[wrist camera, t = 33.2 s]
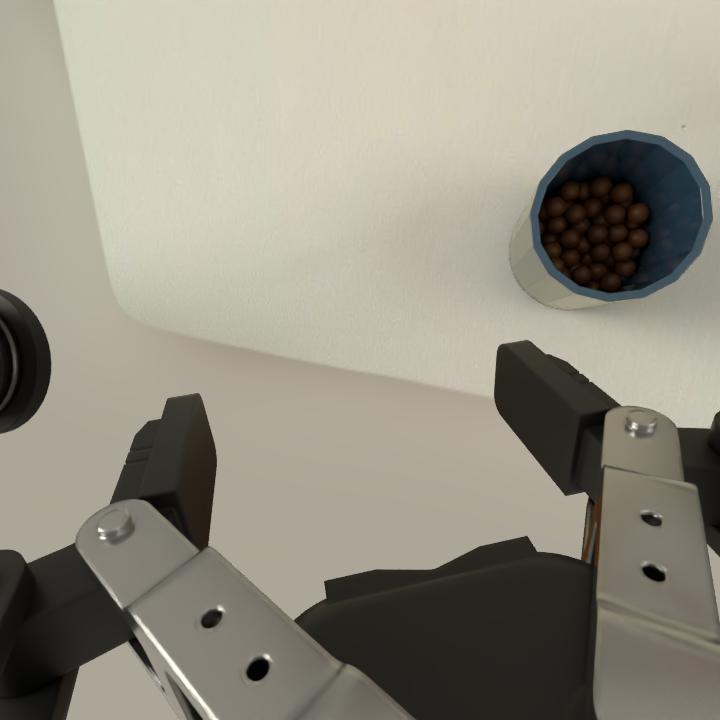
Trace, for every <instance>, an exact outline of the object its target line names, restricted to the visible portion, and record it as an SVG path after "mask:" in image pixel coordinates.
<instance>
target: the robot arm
mask: <svg viewBox="0 0 720 720" xmlns="http://www.w3.org/2000/svg"><path fill="white" fill-rule="evenodd" d="M22 372H23V360H22V353H21V348H20V344H19V341H18V339H17V336H16V334H15V332H14V330H13V329H12V327H11V326H10V324H9V323H8V322H7V320H6V319H5V318H4V317H3V316H2V315H1V314H0V414H1V413H2V412H4V411H5V410H6V409H7V408H8V407H9V406H10V404H11V403H12V401H13V400H14V398H15V396H16V394H17V392H18V390H19V387H20V383H21V379H22ZM494 398H495V404H496V407H497V410H498V411H499V413H500V415H501V416H502V417H503V419H504V420H505V421H506V423H507V424H508V425H509V426H510V428H511V429H512V430H513V431H514V432H515V434H516V435H517V436H518V437H519V439H520V440H521V441H522V442H523V444H524V445H525V446H526V447H527V449H528V450H529V451H530V452H531V454H532V455H533V456H534V457H535V459H536V460H537V461H538V462H539V464H540V465H541V466H542V467H543V468H544V470H545V471H546V472H547V473H548V475H549V476H550V477H551V478H552V480H553V481H554V482H555V483H556V485H557V486H558V487H559V488H560V490H561V491H562V492H563V493H564V495H565V496H567V495H573V494H577V493H582V492H586V494H587V495H588V496H589V498H588V503H587V508H586V518H585V528H584V537H583V548H582V557H581V560H579V559H575V558H572V557H569V556H565V555H560V554H555V553H546V552H537V551H536V549H535V547H534V546H533V544H532V543H531V541H530V540H529V538H528V537H527V536H525V537H520V538H516V539H512V540H507V541H502V542H498V543H493V544H489V545H484V546H480V547H478V548H476V549H474V550H472V551H470V552H468V553H466V554H464V555H462V556H460V557H458V558H456V559H454V560H452V561H450V562H448V563H446V564H444V565H442V566H440V567H438V568H436V569H432V570H372V571H367V572H363V573H359V574H354V575H349V576H345V577H340V578H336V579H332V580H327V581H324V583H325V590H326V597H327V598H326V599H324V600H322V601H321V602H319V603H317V604H315V605H314V606H312V607H310V608H309V609H307V610H306V611H305V612H303V613H302V614H301V615H300V616H299V617H297V618H296V619H295V620H294V621H293V620H292V619H291V618H290V617H289V616H288V615H287V614H286V613H284V612H283V611H282V610H281V609H280V608H279V607H278V606H277V605H276V604H275V603H273V602H272V601H271V600H270V599H269V598H268V597H267V596H266V595H265V594H264V593H262V592H261V591H260V590H259V589H258V588H257V587H256V586H255V585H254V584H253V583H252V582H251V581H249V580H248V579H247V578H246V577H245V576H244V575H243V574H242V573H241V572H240V571H239V570H237V569H236V568H235V567H234V566H233V565H232V564H231V563H230V562H229V561H227V560H226V559H225V558H224V557H223V556H222V555H221V554H220V553H219V552H218V551H216V550H215V549H214V548H212V547H210V546H208V541H209V532H210V523H211V513H212V504H213V495H214V486H215V477H216V468H217V457H216V449H215V444H214V440H213V436H212V433H211V429H210V426H209V422H208V419H207V415H206V411H205V408H204V404H203V401H202V398H201V396H200V394H199V393H196V394H190V395H184V396H178V397H172V398H168V399H167V401H166V405H165V408H164V411H163V414H162V418H161V419H158V420H153V421H148V422H147V423H146V424H145V425H144V426H143V428H142V429H141V430H140V431H139V432H138V433H137V434H136V435H135V437H134V440H133V442H132V445H131V448H130V452H129V453H128V456H127V459H126V461H125V462H126V465H124V467H123V470H122V472H121V475H120V478H119V481H118V483H117V486H116V488H115V491H114V494H113V496H112V499H111V502H110V505H108V506H106V507H105V508H103V509H101V510H99V511H98V512H96V513H95V514H94V515H92V516H91V517H90V518H89V519H88V520H87V521H86V522H85V523H84V524H83V525H82V527H81V528H80V530H79V531H78V533H77V536H76V540H75V543H73V544H71V545H69V546H67V547H65V548H63V549H61V550H58V551H56V552H53V553H51V554H49V555H46V556H44V557H42V558H39V559H37V560H35V561H33V562H30V563H26V562H25V560H24V558H23V557H22V555H21V554H20V553H18V552H16V551H14V550H0V720H66V717H67V713H68V709H69V705H70V701H71V698H72V693H73V689H74V686H75V682H76V678H77V674H78V670H79V666H81V665H83V664H85V663H87V662H89V661H90V660H93V659H95V658H96V657H98V656H100V655H102V654H104V653H106V652H108V651H110V650H112V649H114V648H115V647H118V646H119V645H121V644H123V643H125V642H126V643H127V645H128V646H129V647H130V649H131V650H132V652H133V653H134V654H135V656H136V657H137V659H138V660H139V662H140V663H141V664H142V666H143V667H144V668H145V670H146V672H147V673H148V674H149V676H150V677H151V679H152V680H153V681H154V683H155V684H156V686H157V687H158V689H159V690H160V691H161V693H162V694H163V696H164V697H165V699H166V700H167V701H168V703H169V704H170V706H171V707H172V709H173V710H174V712H175V714H176V715H177V717H178V718H179V720H720V622H719V616H718V610H717V603H716V597H715V591H714V585H713V579H712V573H711V567H710V561H709V554H708V549H707V544H708V545H709V546H710V547H711V548H712V549H713V550H714V551H715V553H716V554H717V555H718V556H719V557H720V411H719V412H718V413H716V415H715V417H714V420H713V422H712V425H711V428H710V429H704V428H677V427H676V425H675V424H674V423H673V422H672V421H671V420H670V419H669V418H668V417H666V416H664V415H663V414H661V413H659V412H656V411H654V410H651V409H647V408H643V407H637V406H621V405H620V404H619V403H617V402H616V401H615V400H614V399H612V398H611V397H610V396H609V395H607V394H606V393H605V392H604V391H602V390H601V389H600V388H599V387H597V386H596V385H595V384H594V383H592V382H589V379H588V378H586V377H585V376H584V375H583V374H579V371H578V370H576V369H575V368H574V367H573V366H571V365H570V364H569V363H568V362H566V361H564V360H561V359H559V358H557V357H554V356H552V355H550V354H547V355H546V354H545V353H543V352H542V351H541V350H540V349H539V348H537V347H536V346H535V345H534V344H533V343H532V342H530V341H528V340H524V341H518V342H512V343H506V344H501V345H500V346H499V347H498V350H497V358H496V373H495V387H494Z"/></svg>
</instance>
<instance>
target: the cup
mask: <svg viewBox="0 0 720 720" xmlns="http://www.w3.org/2000/svg"><path fill="white" fill-rule="evenodd" d="M600 176H606V177H607V178H609V179H610V181H611V183H612V186H613V187H614V186H615V184H618V183H620V182H628V183H629V184H630V185H631V186H632V188H633V195H632V196H633V198H634V200H635V204H636V203H645V204H646V205H647V206H648V207H649V209H650V214H649V217H648V218H647V219H646V220H645V221H644V222H643V224H642V225H641V226H640V227H639V229H644V230H646V231H647V232H648V235H649V241H648V243H647V244H646V245H645V246H644V247H641V254H640V257H638V258H637V259H636V260H634V262H635V264H636V271H635V273H634V274H633V275H632V276H630V277H627V278H623V277H621V280H622V284H621V287H620V288H619V289H618V290H617V291H614V292H605V291H604V290H603V292H602V291H598V290H594V289H590V288H585V287H584V285H581V286H583V287H581V286H579V285H577V284H576V283H575V282H573V280H572V278H570V279H569V278H568V277H566V276H565V275H564V274H562V273H561V272H560V271H558V270H557V269H556V268H555V267H554V265H553V263H552V262H551V260H550V258H549V256H548V255H547V253H546V251H545V249H544V248H543V246H542V244H541V237H540V227H539V218H538V214H539V211H540V207H541V204H542V202H543V201H544V200H545V199H548V198H553V197H559V191H560V187H561V186H562V185H563V183H565V182H567V181H569V180H570V181H576V182H577V183H579V182H581V181H588V182H589V183H590V184H591V182H592V181H593V180H594V179H595V178H597V177H600ZM576 204H580V202H579V201H577V202H576ZM589 218H591V217H589ZM712 219H713V217H712V206H711V195H710V186H709V183H708V182H707V180H706V178H705V177H704V175H703V173H702V172H701V170H700V168H699V167H698V165H697V163H696V162H695V160H694V158H693V157H691V155H690V154H688V153H687V152H685V151H684V150H682V149H681V148H679V147H678V146H677V145H675V144H674V143H672V142H671V141H669V140H668V139H666V138H665V137H662V136H658V135H652V134H647V133H642V132H637V131H631V130H624V131H619V132H614V133H608V134H603V135H598V136H593V137H590V138H589V139H587V140H585V141H584V142H582V143H580V144H579V145H577V146H575V147H574V148H572V149H570V150H569V151H567V152H565V153H564V154H562V155H561V156H560V157H559V158H558V159H557V161H556V162H555V163H554V164H553V166H552V167H551V168H550V169H549V171H548V172H547V173H546V175H545V176H544V177H543V178H542V180H541V181H540V182H539V184H538V186H537V188H536V189H535V191H534V193H533V195H532V196H531V198H530V200H529V202H528V204H527V205H526V207H525V209H524V211H523V213H522V214H521V216H520V218H519V220H518V221H517V223H516V226H515V229H514V232H513V235H512V238H511V242H510V251H509V254H510V264H511V268H512V271H513V274H514V276H515V278H516V280H517V282H518V283H519V285H520V286H521V288H522V289H523V290H524V291H525V292H526V293H527V294H528V295H529V296H530V297H532V298H533V299H535V300H536V301H538V302H540V303H542V304H544V305H546V306H549V307H552V308H557V309H563V310H574V309H582V308H590V307H596V306H602V305H607V304H612V303H618V302H623V301H629V300H634V299H640V298H644V297H646V296H648V295H650V294H652V293H654V292H656V291H658V290H660V289H662V288H664V287H666V286H668V285H670V284H671V283H673V282H675V281H676V280H678V279H679V278H680V276H681V275H682V274H683V273H684V272H685V271H686V270H687V269H688V267H689V266H690V265H691V264H692V263H693V262H694V261H695V260H696V258H697V257H698V256H699V255H700V254H701V252H702V249H703V246H704V243H705V240H706V238H707V235H708V232H709V229H710V226H711V223H712ZM560 235H561V234H560ZM619 243H621V242H619ZM593 244H594V243H592V245H593ZM616 244H618V243H616ZM616 244H615V245H616ZM615 245H613V246H615ZM613 246H612V247H613ZM612 247H610V248H612Z"/></svg>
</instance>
